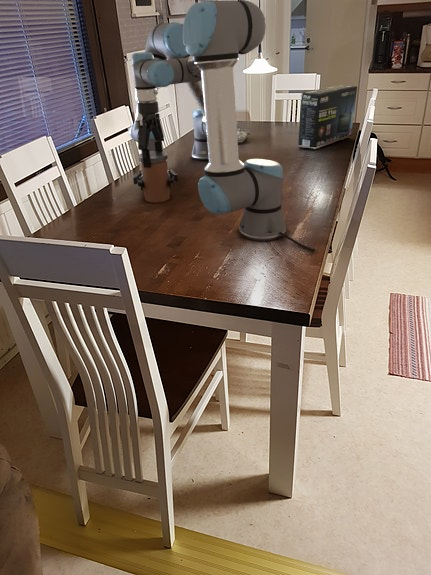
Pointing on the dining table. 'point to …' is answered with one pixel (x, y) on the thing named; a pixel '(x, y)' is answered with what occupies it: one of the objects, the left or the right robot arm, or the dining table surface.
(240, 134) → the fossil
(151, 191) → the jar
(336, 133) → the router box
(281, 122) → the dining table surface
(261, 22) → the right robot arm
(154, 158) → the lid
